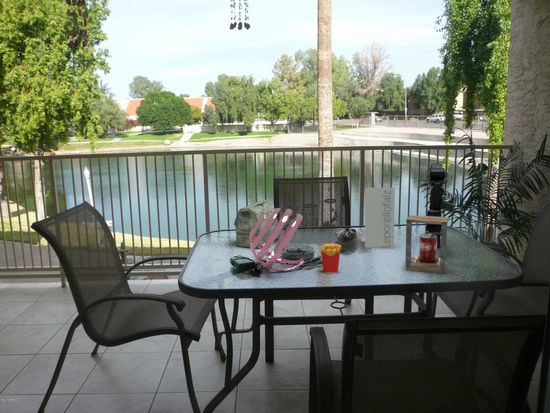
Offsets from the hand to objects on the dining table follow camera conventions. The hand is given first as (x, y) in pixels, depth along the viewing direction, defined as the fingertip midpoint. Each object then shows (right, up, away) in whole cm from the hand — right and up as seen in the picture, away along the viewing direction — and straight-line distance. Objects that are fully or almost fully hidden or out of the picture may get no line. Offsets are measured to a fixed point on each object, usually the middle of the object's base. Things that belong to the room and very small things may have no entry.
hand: (435, 227), depth 213 cm
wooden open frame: (-9, -16, -14) cm, 23 cm away
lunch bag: (-85, -10, +34) cm, 92 cm away
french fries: (-51, -18, -17) cm, 57 cm away
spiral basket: (-74, -17, -9) cm, 77 cm away
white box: (-22, -11, +19) cm, 31 cm away
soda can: (-8, -15, -12) cm, 21 cm away
